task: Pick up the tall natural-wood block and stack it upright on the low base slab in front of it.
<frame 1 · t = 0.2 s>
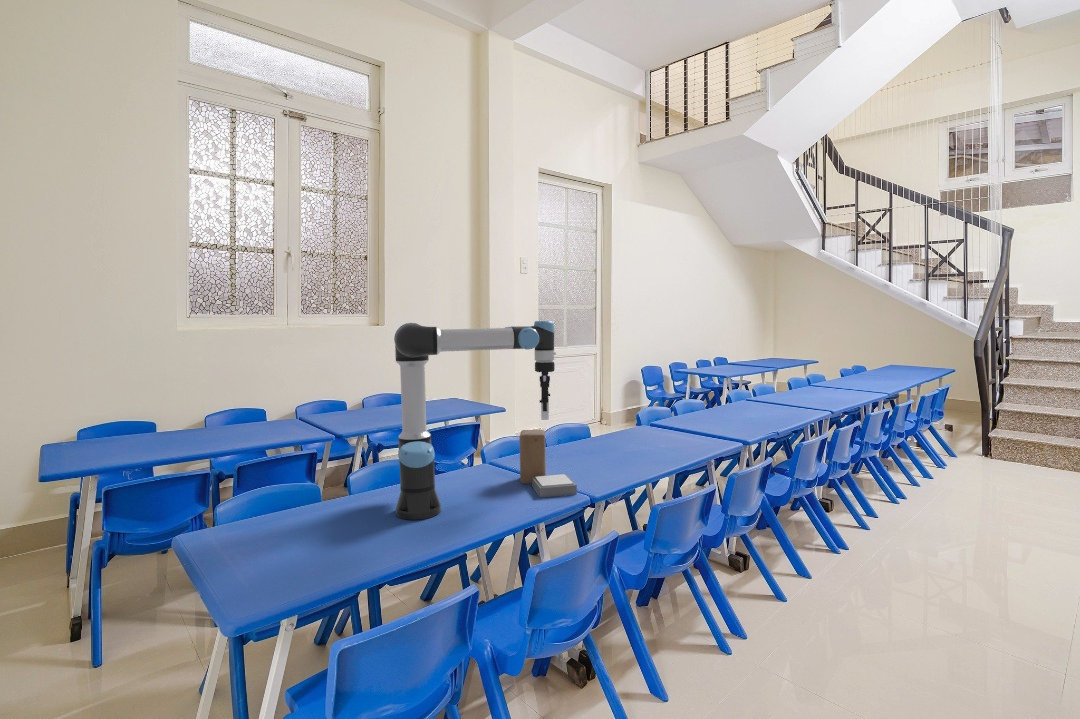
hand: (545, 416, 220), 28 cm above the table, fingers open, 13 cm apart
wooden block: (533, 481, 232), on the table
base: (553, 490, 220), on the table
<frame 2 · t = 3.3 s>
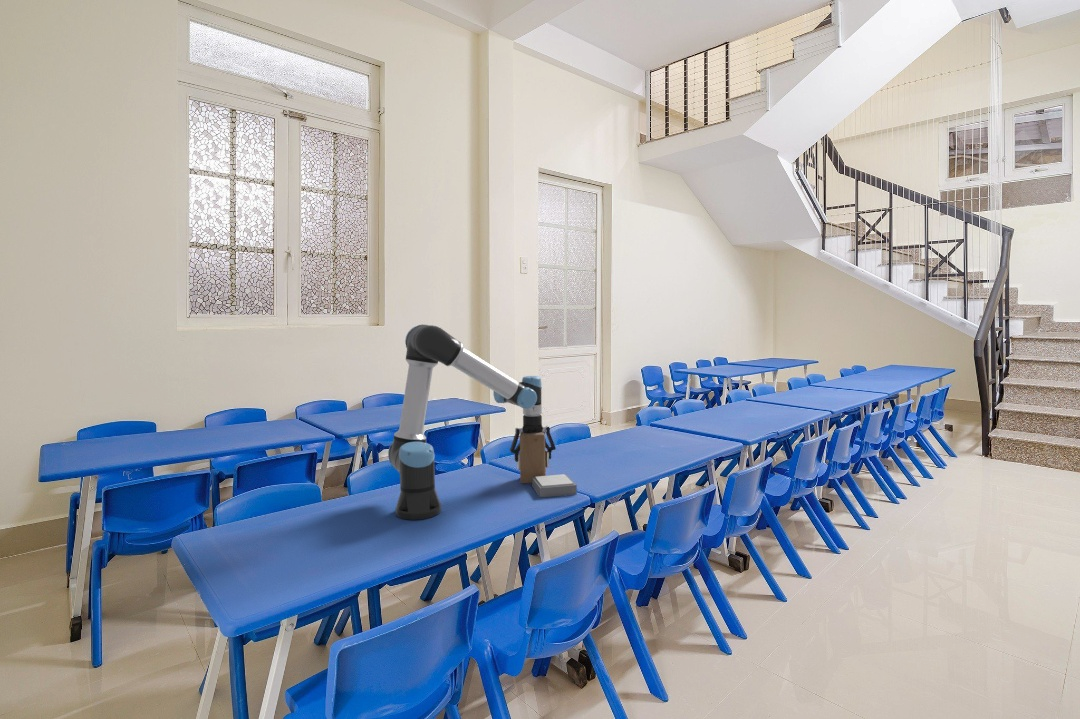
hand: (533, 468, 232), 5 cm above the table, fingers closed on wooden block, 11 cm apart
wooden block: (533, 481, 232), on the table, touching gripper
when the fingers open (10 cm above the table, at t = 9.4 s): wooden block drops 1 cm, resting on base.
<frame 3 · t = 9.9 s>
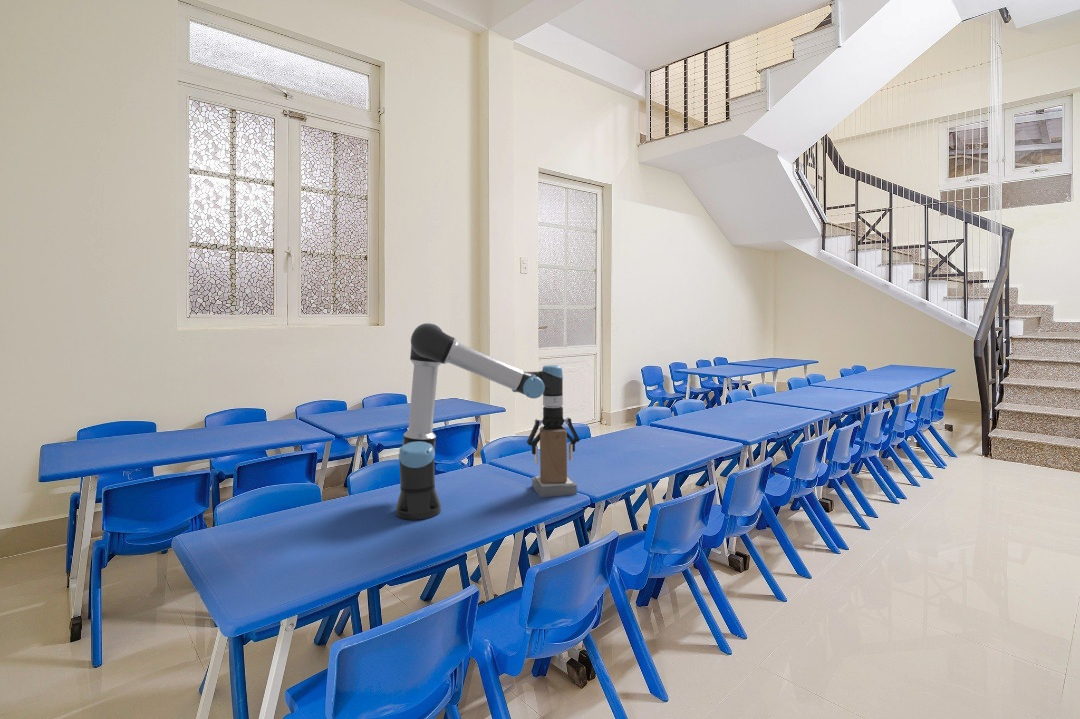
hand: (553, 461, 219), 11 cm above the table, fingers open, 13 cm apart
wooden block: (553, 480, 219), point 4 cm above the table, touching base
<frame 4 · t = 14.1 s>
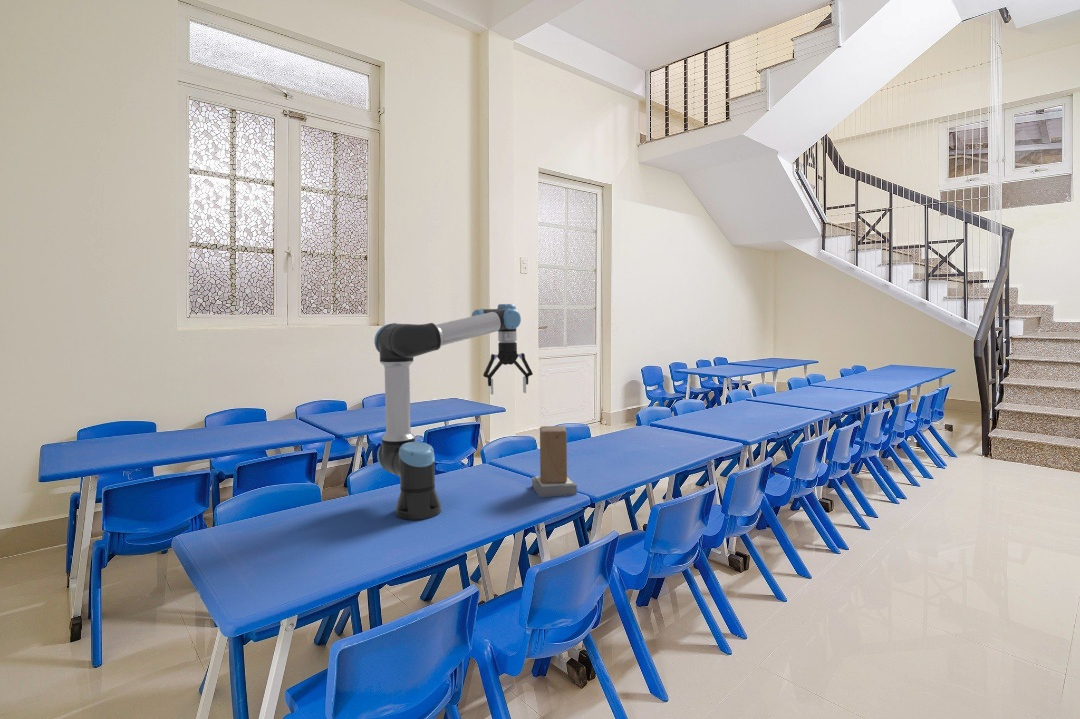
hand: (508, 393, 236), 35 cm above the table, fingers open, 13 cm apart
nothing on the table moved.
at the end: wooden block inside the target area on the base (0.1 cm from its centre), point 3.8 cm above the base's base; wooden block tilted 0°; the gripper is holding nothing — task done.
